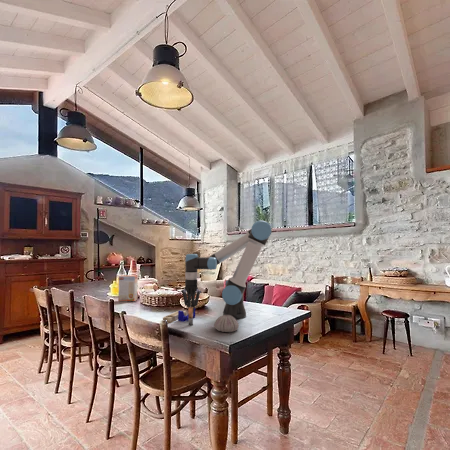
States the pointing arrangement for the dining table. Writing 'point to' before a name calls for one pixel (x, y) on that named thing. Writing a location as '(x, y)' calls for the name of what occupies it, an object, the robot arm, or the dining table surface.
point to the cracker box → (127, 288)
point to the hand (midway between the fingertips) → (190, 317)
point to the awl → (190, 316)
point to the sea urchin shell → (226, 323)
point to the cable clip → (184, 318)
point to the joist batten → (172, 317)
